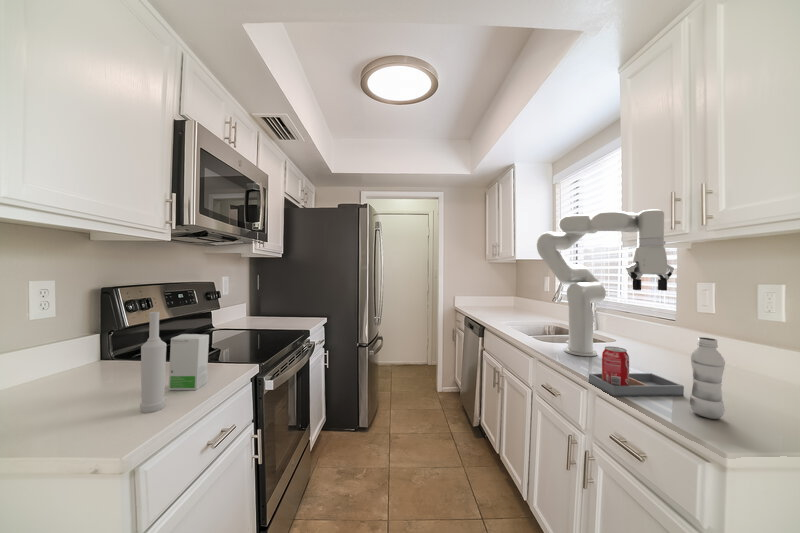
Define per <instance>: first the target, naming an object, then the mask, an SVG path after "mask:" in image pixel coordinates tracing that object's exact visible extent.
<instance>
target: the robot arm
mask: <svg viewBox="0 0 800 533" xmlns="http://www.w3.org/2000/svg"><path fill="white" fill-rule="evenodd" d="M558 228H559V229H560V231H561V232H559V231H558V232H556V231H546V232H543V233H542V234H540V235H539V236H538V238H537V242H536V250H537V253H538V255H539V256H540V258H541V259H542V260H543V261H544V263H545V264H546V265H547V266H548V268H549V269H550V270H551V272H552V273H553V275H554V276H555V277H556V279H557V280H558V281H559V282H560V283H561V284H563V285H568V287H567V290H566V299H567V303H568V340H565V343H566V344H567V346H566V347H564V351H565V353H567V354H570V355H575V356H581V357H595V356H598V352H597V350H595V349H594V310H593V307H592V305H591V304H596V303H601V302H602V301H604V299H605V298H606V295H607V293H606V292H607V291H606V289H605V287H604V285H603V283H601V282H600V280H599V279H598V277H596V276H595V274H593V272H592V271H591V269H589V268H588V267H586V266H585V265H583V264H573V263H571V262H570V261H569V260H568V259H567V258H566V256H565V255H564V254H562V253H561V252H560V251H559V250H561V251H562V250H568V249H570V248H571V247H573V246H574V245H575V244H576V243H577V242H578V241H579V240H581V239H582V238H583V237H584V236H585V235H586V234H596V233H598V232H621V233H637V247H635V248H634V251H633V254H632V255H633V257H632V263H631V264H630V265H628V266H626V267H625V270H626V271H627V275H629V277H630V279H631V280H632V290H634V291H641V290H642V279H641V278H642V276H644V275H656V276H657V277H658V279H657V291H665V292H667V290H668V280H670V277H671V276H673V272H674V271H675V269H674V267H673V266H671V265H670V264H668V258H667V252H666V247H665V246H664V245H666V243H667V242H666V241H665V212H664V211H663V210H662V209H646V210H642V211H640V212H638V213H635V212H628V211H627V212H626V211H605V212H597V213H595V212H594V213H584V214H583V213H581V214H569V215H565V216H563V217H561V218H560V220H559V222H558Z"/></svg>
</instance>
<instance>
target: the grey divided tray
mask: <svg viewBox="0 0 800 533" xmlns="http://www.w3.org/2000/svg"><path fill="white" fill-rule="evenodd" d="M588 383H589V384H591V385H592V386H594V388H595V387H596V388H597V389H599V390H601V391H603V392H604V393H606V394H608V395H609V396H612V397H613V398H614V397H615V398H622V397H623V398H624V397H626V398H627V397H633V398H634V397H636V398H637V397H684V396H685V394H684V392H685V391H684V390H685V389H684V388H685V386H684V385H682V384H680V383H678V382H675V381H672V380H670V379H667V378H665V377H662V376H659V375H658V374H654V373H653V372H641V373H640V372H638V373H637V372H633V373H630V372H629V385H628V386H614V385H612V384H610V383H608V382H606V381H604V380H602V372H600V373H588Z"/></svg>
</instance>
